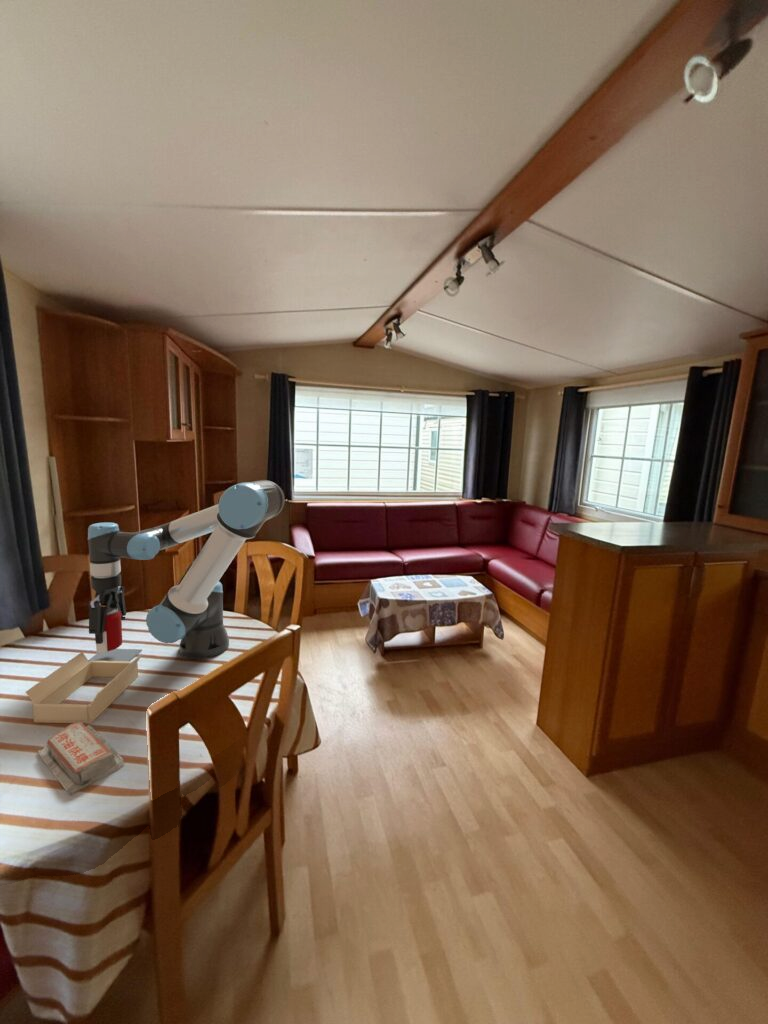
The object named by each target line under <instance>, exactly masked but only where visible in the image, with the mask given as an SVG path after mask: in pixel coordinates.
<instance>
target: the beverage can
mask: <svg viewBox="0 0 768 1024" xmlns="http://www.w3.org/2000/svg"><path fill="white" fill-rule="evenodd" d="M122 629H123V624H122V623H121V613H120V612H119V610H118V608H109V609H108V610H107V616H106V622H105V629H104V631H106V635H107V651H112V650H115V649H119V647H121V646H122V644H123V630H122Z"/></svg>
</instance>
